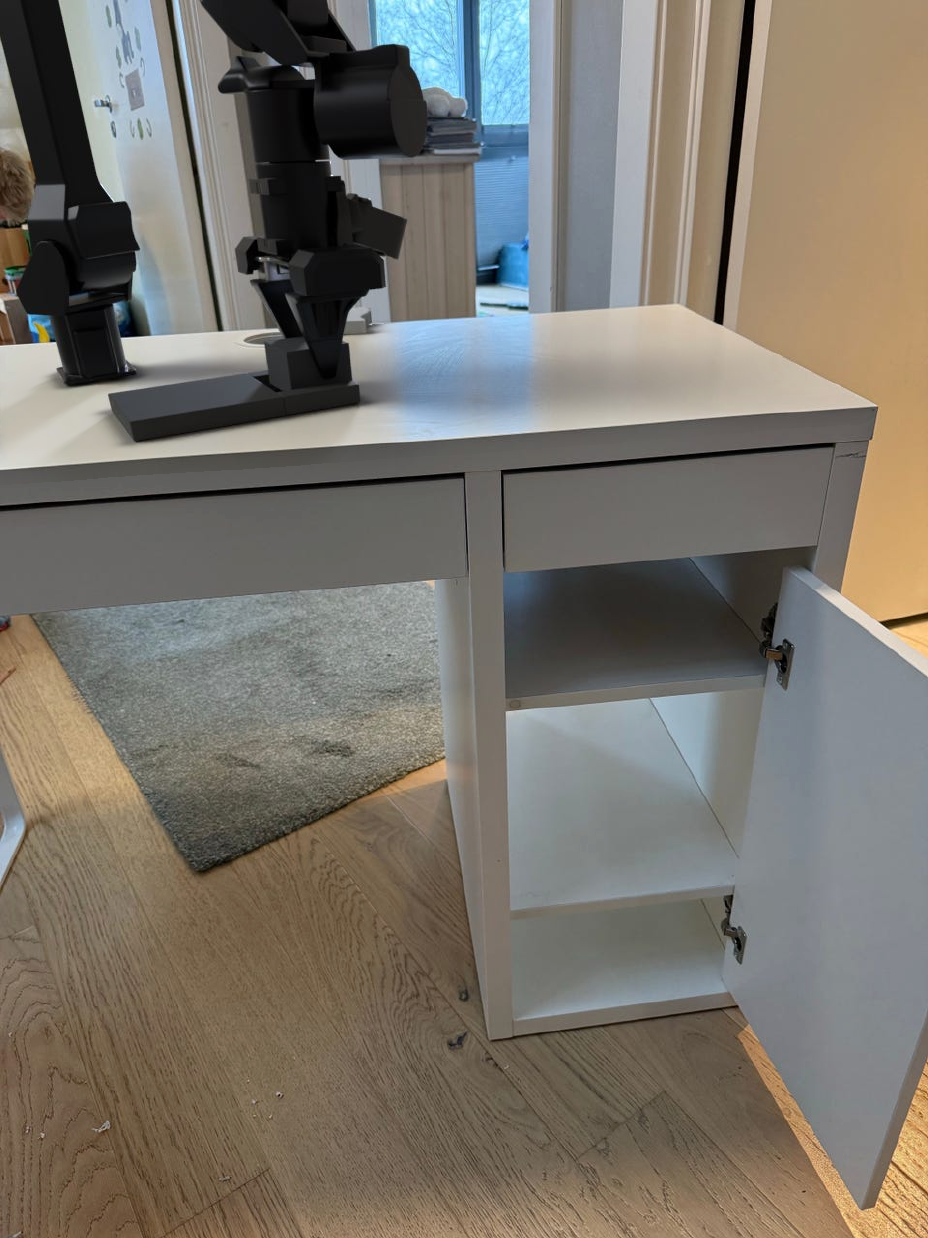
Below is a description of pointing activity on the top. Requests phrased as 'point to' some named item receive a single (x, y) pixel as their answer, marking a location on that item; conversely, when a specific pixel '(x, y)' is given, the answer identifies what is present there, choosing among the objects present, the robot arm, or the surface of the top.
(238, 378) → the base pad
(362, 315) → the light grey notched plate
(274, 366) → the dark grey rectangular block
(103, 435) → the top surface
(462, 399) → the top surface
